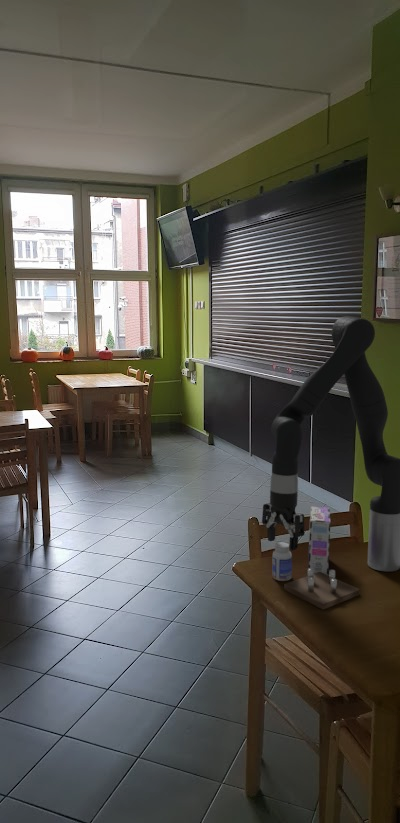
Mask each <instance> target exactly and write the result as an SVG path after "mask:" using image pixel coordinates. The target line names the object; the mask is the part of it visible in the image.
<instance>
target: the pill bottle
mask: <svg viewBox="0 0 400 823" xmlns="http://www.w3.org/2000/svg"><path fill="white" fill-rule="evenodd" d="M289 544H290V543H287V542H283V541H282V542H281V541H280V542H276V543H275V544H274V550H273V551H272V557H271V558H272V559H271V560H272V568H271V570H272V572H271V573H272V578H273V580H275V581H279V582H287V581H289V580H290V581H291V579H292V574H293V572H292V571H293V570H292V569H293V568H292V564H293V561H292V560H293V558H292V557H293V554H292V552H291V550H290V549H289Z"/></svg>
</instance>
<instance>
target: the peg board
mask: <svg viewBox="0 0 400 823" xmlns="http://www.w3.org/2000/svg"><path fill="white" fill-rule="evenodd" d="M313 578H314V592H308V582H307V575H306V576H303V577H301V578H298V579H295V580H293V581H290V582H287V583H284V585H283V590H284V591H285V592H288V593H290V594H292V595H294V596H295V597H298V598H299V599H301V600H303V601H305V602H308V603H309V604H311V605H313V606H315V607H317V608H319V609H322V610H323V611H324V610H326V609H328V608H331V607H333V606H336V605H339V604H340V603H343V602H345V601H347V600H351V599H353V598H354V597H357V596H359V595H360V588H357V587H355V586H353V585H350V584H348V583H347V582H344V581H342V580H339V579H338V578H335V579H336V580H337V591H336V594H332V593H330V584H329V574H328V575H326V574H324V573H322V572H318V573H315V574H313Z"/></svg>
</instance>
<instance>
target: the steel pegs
mask: <svg viewBox="0 0 400 823" xmlns="http://www.w3.org/2000/svg"><path fill="white" fill-rule="evenodd" d="M306 573H307V575H306V576H307V582H308V592H314V578H313V569H312V568H309V567H308V568H307V572H306ZM328 576H329V584H330V593H332V594H336V591H337V580H338V579H337V578H336V570H335V569H329V571H328ZM336 579H337V580H336Z"/></svg>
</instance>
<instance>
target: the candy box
mask: <svg viewBox="0 0 400 823" xmlns="http://www.w3.org/2000/svg"><path fill="white" fill-rule="evenodd" d="M330 510H331V509H330V507H325V506H310V518H309V534H308V535H309V536H308V568H312V569H313V574H315V573H318V572H322V573H324V574H326V575H328V576H329V570H330V569H329V567H330V566H329V565H330V564H329V563H330V560H329V559H330V544H331V543H330V540H331V511H330Z"/></svg>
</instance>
